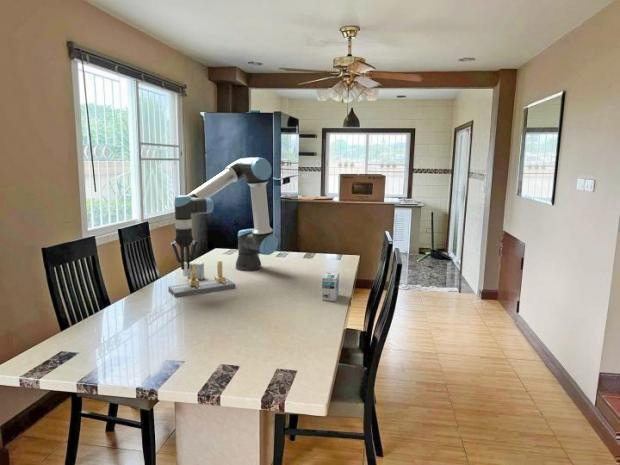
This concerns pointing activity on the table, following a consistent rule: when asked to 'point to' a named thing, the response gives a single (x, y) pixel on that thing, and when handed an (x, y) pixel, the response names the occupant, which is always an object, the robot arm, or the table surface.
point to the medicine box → (197, 270)
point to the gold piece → (193, 276)
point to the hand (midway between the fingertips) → (185, 275)
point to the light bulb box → (330, 286)
